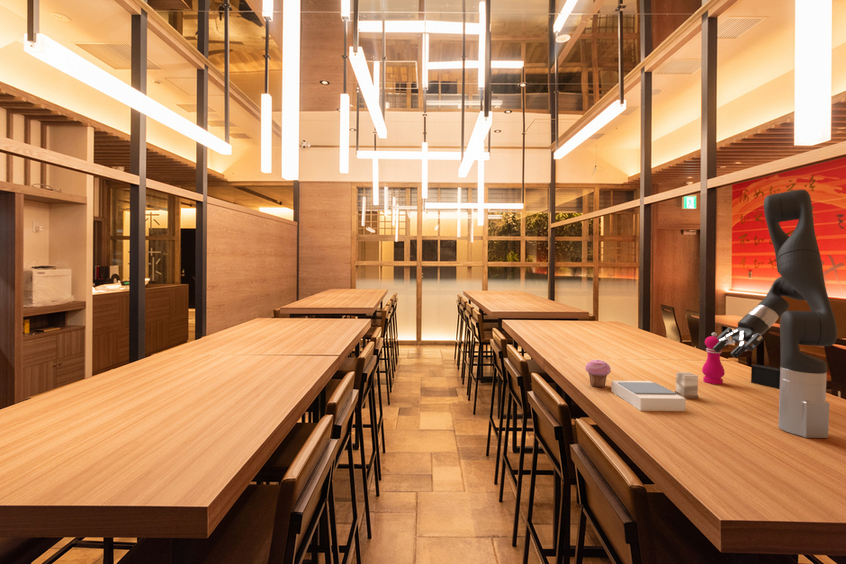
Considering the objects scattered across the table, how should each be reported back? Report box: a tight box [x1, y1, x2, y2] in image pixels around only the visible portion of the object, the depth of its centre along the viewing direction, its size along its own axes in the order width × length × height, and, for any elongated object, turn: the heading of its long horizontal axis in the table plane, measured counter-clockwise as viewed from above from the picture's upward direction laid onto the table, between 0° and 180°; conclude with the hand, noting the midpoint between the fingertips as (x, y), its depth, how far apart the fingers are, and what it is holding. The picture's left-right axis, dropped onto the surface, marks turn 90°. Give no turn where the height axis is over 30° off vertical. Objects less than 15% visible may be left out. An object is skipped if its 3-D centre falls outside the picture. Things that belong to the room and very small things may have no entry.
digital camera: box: [750, 364, 780, 390], centre depth 154 cm, size 10×5×7 cm, turn 24°
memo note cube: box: [674, 371, 699, 400], centre depth 140 cm, size 5×5×8 cm
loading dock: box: [610, 379, 687, 412], centre depth 135 cm, size 20×14×4 cm
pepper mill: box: [701, 331, 725, 385], centre depth 157 cm, size 7×7×20 cm
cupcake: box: [584, 359, 612, 388], centre depth 152 cm, size 9×9×10 cm
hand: (723, 353), depth 139 cm, fingers open, 8 cm apart
